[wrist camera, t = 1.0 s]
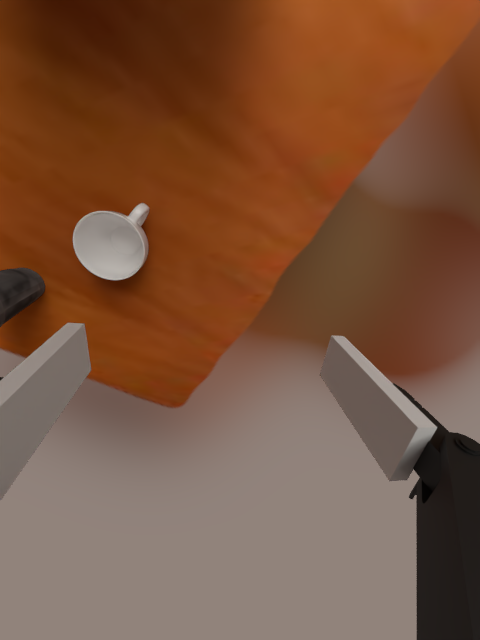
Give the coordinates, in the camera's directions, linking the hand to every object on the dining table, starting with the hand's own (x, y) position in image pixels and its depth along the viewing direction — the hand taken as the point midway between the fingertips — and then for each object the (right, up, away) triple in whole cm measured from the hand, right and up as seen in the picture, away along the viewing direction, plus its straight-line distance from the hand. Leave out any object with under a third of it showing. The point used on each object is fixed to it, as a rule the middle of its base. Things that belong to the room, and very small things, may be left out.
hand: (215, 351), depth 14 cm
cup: (-14, +14, +21) cm, 29 cm away
